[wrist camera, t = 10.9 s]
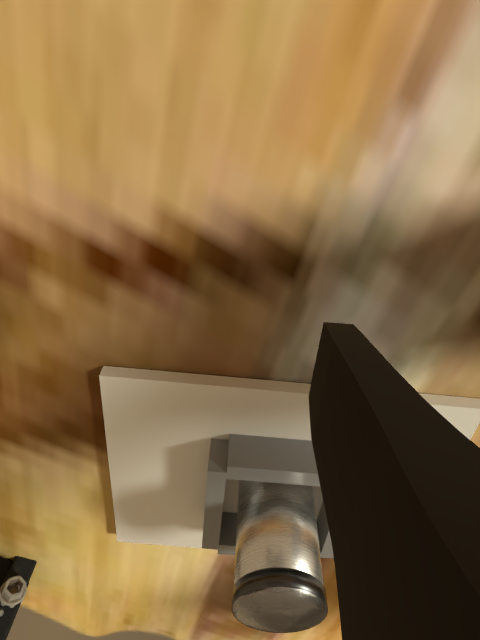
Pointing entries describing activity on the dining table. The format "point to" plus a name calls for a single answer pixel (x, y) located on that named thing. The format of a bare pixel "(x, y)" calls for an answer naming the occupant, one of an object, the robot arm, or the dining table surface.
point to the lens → (277, 559)
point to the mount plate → (212, 450)
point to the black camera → (12, 589)
